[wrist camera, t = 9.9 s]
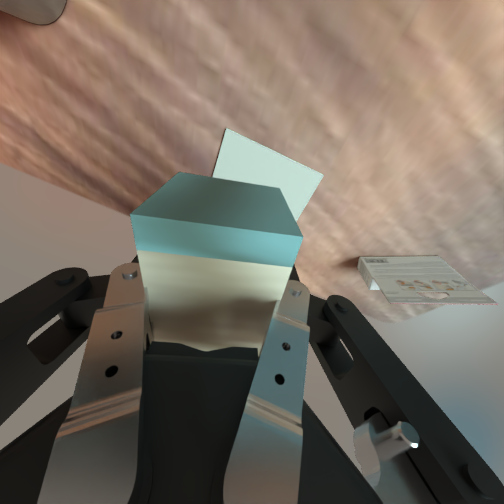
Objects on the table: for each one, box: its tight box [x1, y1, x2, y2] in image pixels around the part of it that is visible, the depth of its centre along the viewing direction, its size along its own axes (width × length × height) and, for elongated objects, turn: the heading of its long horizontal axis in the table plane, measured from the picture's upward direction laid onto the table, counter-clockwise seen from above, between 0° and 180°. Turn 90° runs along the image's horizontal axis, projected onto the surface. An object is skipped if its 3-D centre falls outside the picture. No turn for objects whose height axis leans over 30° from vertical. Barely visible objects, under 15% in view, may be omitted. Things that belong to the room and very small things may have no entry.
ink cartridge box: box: [357, 256, 498, 305], centre depth 27 cm, size 2×11×10 cm, turn 95°
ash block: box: [130, 172, 303, 355], centre depth 11 cm, size 5×5×10 cm
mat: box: [213, 128, 324, 221], centre depth 28 cm, size 13×13×1 cm
